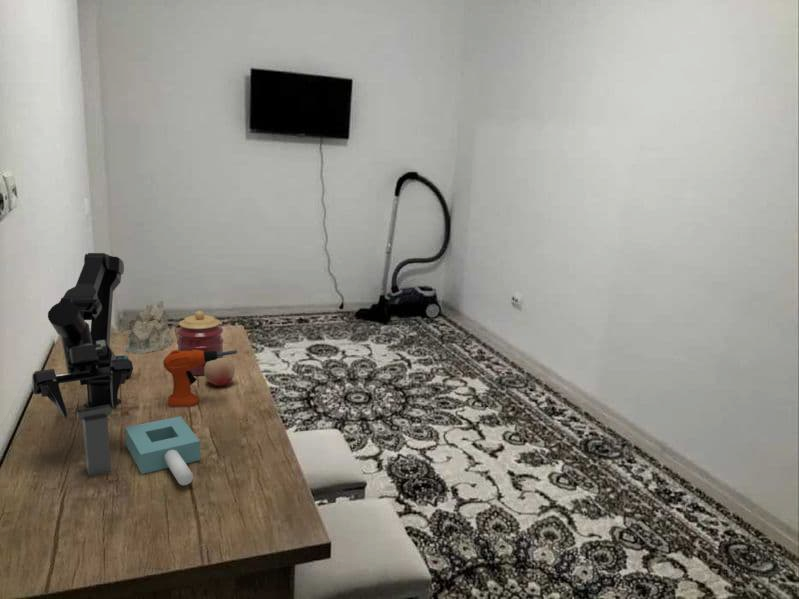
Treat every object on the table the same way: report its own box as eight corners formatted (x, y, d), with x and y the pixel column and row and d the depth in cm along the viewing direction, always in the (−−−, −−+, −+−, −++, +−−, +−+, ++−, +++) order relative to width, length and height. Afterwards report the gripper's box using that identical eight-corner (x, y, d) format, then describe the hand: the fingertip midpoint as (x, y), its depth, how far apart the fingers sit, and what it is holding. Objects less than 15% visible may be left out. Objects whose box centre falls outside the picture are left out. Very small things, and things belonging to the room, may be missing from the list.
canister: (175, 377, 179) (173, 317, 175) (180, 361, 191) (178, 305, 187) (223, 375, 182) (222, 316, 178) (224, 360, 194) (223, 305, 190)
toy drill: (243, 398, 164) (235, 344, 160) (168, 411, 160) (157, 356, 155) (243, 390, 168) (235, 338, 164) (169, 403, 164) (159, 349, 160)
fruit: (231, 377, 181) (230, 351, 179) (236, 387, 174) (236, 360, 172) (202, 380, 178) (201, 354, 176) (207, 391, 171) (206, 363, 169)
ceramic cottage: (151, 333, 215) (147, 291, 211) (181, 345, 207) (178, 302, 202) (108, 347, 203) (103, 303, 198) (139, 360, 194) (135, 315, 190)
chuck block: (126, 445, 139) (125, 427, 138) (181, 433, 146) (180, 416, 145) (154, 497, 120) (153, 476, 119) (216, 481, 127) (215, 461, 126)
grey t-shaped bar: (80, 469, 129) (75, 407, 126) (112, 461, 132) (108, 402, 129) (84, 477, 126) (78, 415, 123) (116, 470, 129) (112, 409, 126)
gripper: (28, 333, 124) (39, 405, 118) (128, 322, 135) (143, 388, 129) (28, 359, 133) (38, 427, 127) (122, 347, 143) (136, 409, 137)
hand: (90, 412), depth 130 cm, fingers open, 9 cm apart
